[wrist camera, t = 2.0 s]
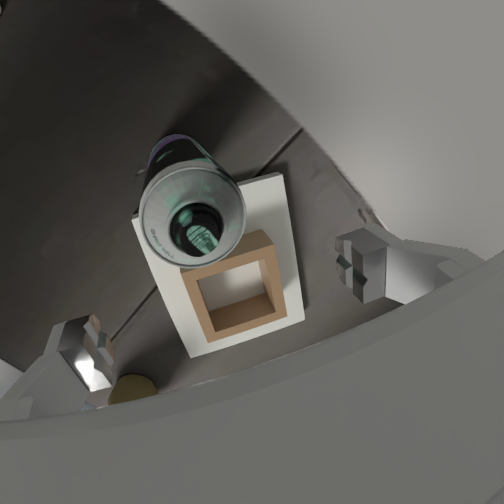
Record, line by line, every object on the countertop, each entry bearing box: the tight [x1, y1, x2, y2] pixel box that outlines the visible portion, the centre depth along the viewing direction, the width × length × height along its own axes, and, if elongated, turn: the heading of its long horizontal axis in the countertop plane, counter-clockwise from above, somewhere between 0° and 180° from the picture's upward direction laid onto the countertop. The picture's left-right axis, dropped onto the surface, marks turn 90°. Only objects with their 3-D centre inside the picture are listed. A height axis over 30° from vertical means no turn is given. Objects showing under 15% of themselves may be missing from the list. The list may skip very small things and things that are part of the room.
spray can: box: [139, 134, 247, 268], centre depth 22 cm, size 6×6×20 cm
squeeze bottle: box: [108, 374, 159, 406], centre depth 34 cm, size 8×8×18 cm
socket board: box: [131, 172, 305, 358], centre depth 35 cm, size 20×16×6 cm
